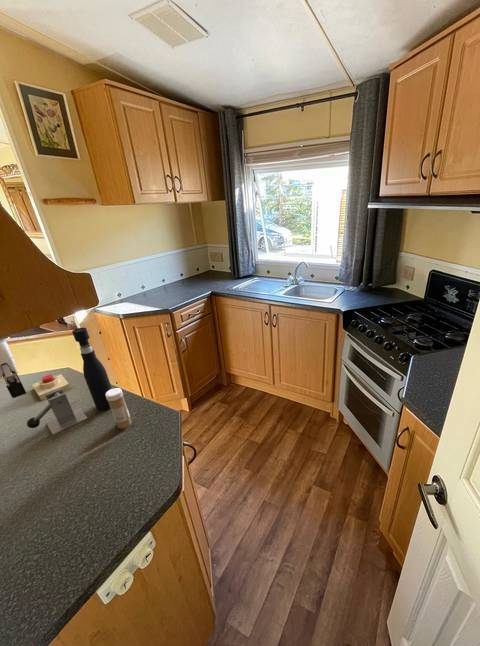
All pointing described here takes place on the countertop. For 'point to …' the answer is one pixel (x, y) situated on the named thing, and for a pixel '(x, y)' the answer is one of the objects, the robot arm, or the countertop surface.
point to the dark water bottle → (93, 371)
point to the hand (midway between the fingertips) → (16, 389)
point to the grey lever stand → (63, 412)
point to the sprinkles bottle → (118, 407)
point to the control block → (51, 386)
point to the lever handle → (36, 421)
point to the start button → (48, 379)
